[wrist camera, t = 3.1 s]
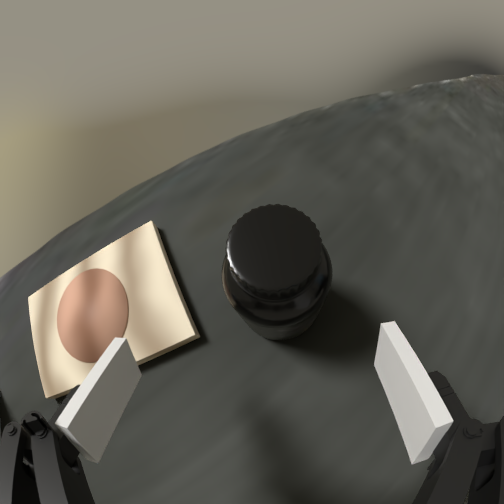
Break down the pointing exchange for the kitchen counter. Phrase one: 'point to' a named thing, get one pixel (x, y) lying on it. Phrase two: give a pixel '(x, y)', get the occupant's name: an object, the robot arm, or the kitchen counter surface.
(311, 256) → the supplement bottle
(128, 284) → the birch board
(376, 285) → the kitchen counter surface
